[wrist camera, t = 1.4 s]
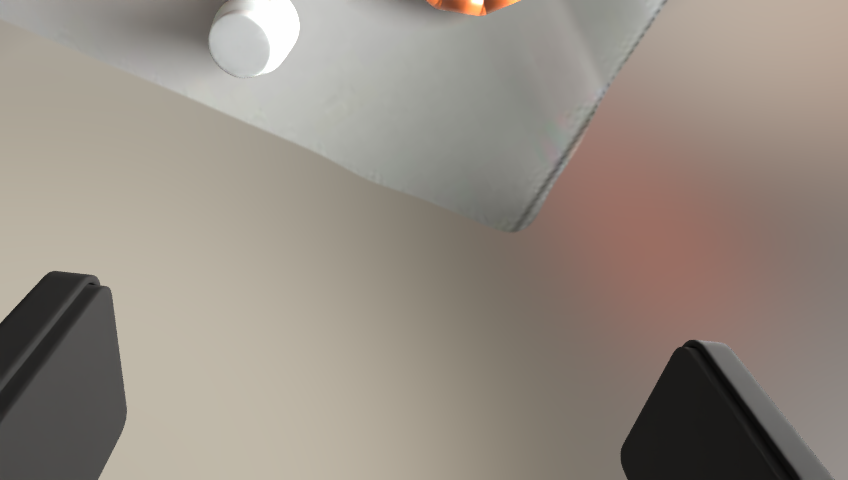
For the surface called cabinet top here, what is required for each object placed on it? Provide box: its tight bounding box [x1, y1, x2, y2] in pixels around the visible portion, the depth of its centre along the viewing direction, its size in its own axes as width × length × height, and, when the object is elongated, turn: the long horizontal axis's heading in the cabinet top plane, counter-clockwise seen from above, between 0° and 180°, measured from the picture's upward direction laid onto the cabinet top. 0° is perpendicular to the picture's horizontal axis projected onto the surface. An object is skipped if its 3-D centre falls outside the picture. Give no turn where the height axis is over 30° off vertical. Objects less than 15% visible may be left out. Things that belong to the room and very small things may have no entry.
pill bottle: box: [208, 0, 299, 78], centre depth 33 cm, size 4×4×8 cm
